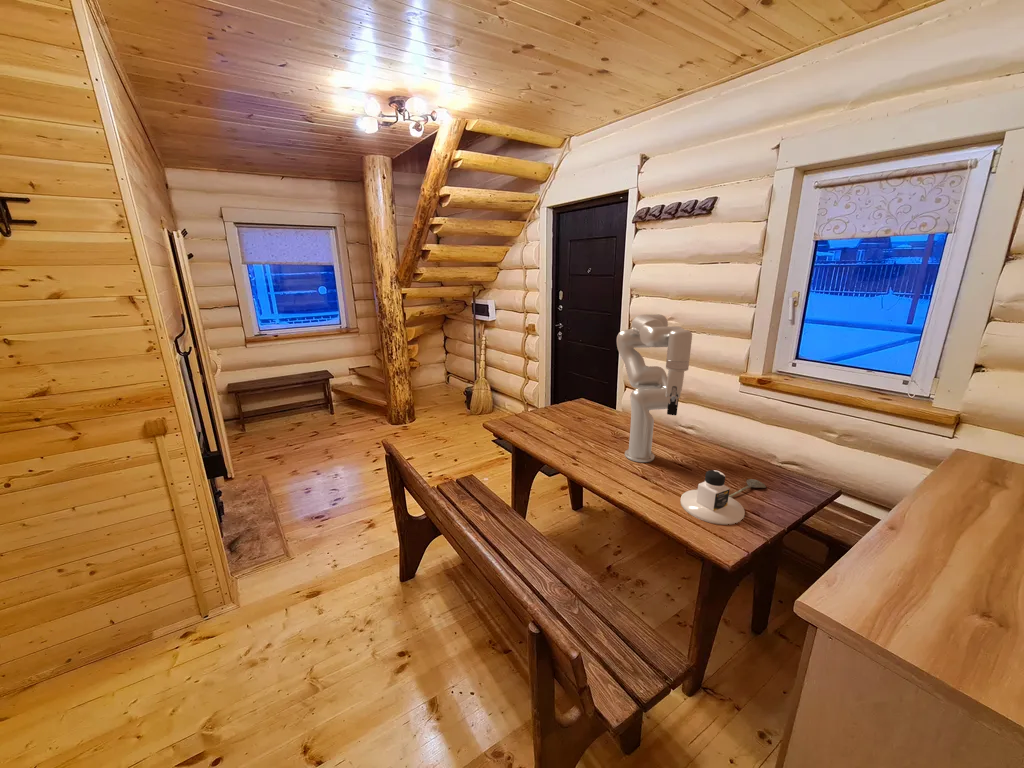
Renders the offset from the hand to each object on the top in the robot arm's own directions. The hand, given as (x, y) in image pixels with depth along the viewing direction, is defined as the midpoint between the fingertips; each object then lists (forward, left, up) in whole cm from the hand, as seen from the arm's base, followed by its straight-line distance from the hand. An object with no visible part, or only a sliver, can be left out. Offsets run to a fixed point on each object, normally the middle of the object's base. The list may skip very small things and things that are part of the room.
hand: (672, 410), depth 147 cm
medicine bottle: (+10, +16, -29) cm, 35 cm away
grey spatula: (-7, +28, -31) cm, 42 cm away
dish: (+10, +16, -30) cm, 36 cm away
